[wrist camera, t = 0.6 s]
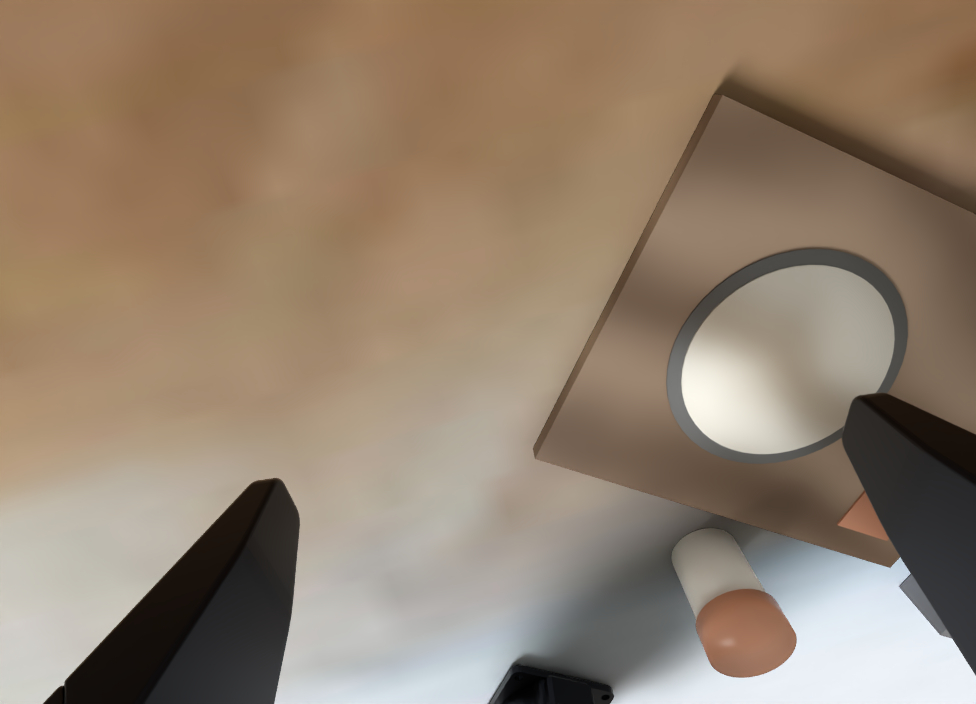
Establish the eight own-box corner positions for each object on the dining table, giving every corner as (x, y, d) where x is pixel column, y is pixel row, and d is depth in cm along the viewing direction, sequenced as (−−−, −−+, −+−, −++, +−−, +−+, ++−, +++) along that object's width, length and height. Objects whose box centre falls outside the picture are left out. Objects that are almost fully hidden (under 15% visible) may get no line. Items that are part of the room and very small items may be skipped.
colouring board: (880, 555, 30) (892, 570, 29) (533, 448, 27) (535, 461, 26) (1121, 286, 24) (1146, 294, 23) (713, 94, 20) (725, 95, 19)
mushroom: (716, 587, 31) (764, 684, 26) (654, 570, 30) (691, 667, 25) (754, 536, 29) (814, 629, 25) (691, 517, 29) (738, 608, 24)
